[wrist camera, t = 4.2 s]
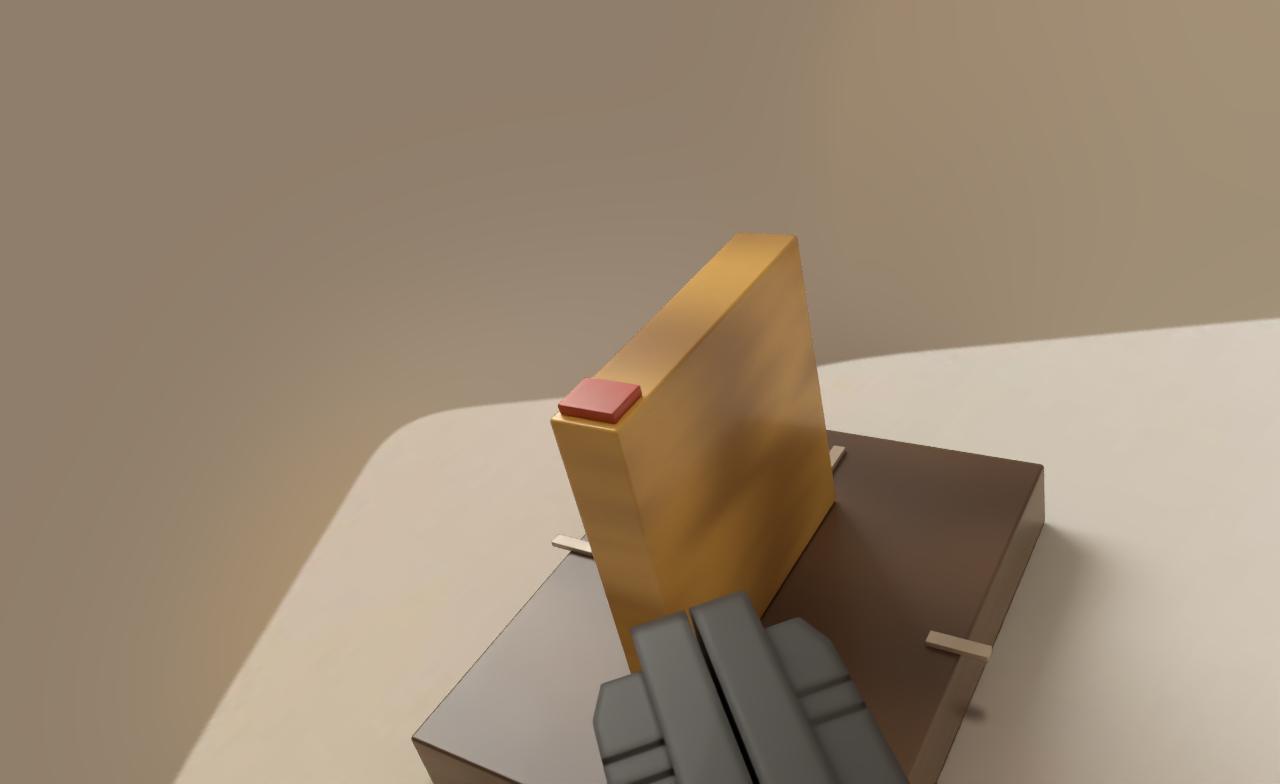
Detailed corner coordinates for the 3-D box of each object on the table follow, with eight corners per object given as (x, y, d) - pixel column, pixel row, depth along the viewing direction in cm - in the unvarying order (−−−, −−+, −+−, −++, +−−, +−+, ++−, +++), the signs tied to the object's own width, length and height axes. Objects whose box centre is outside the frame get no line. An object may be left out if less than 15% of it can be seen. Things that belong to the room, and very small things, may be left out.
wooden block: (784, 488, 30) (735, 222, 25) (837, 498, 29) (796, 225, 24) (637, 699, 24) (544, 409, 20) (697, 720, 23) (613, 421, 19)
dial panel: (689, 452, 35) (676, 400, 34) (1068, 524, 29) (1068, 462, 28) (418, 782, 26) (388, 725, 25) (883, 998, 20) (872, 934, 19)
